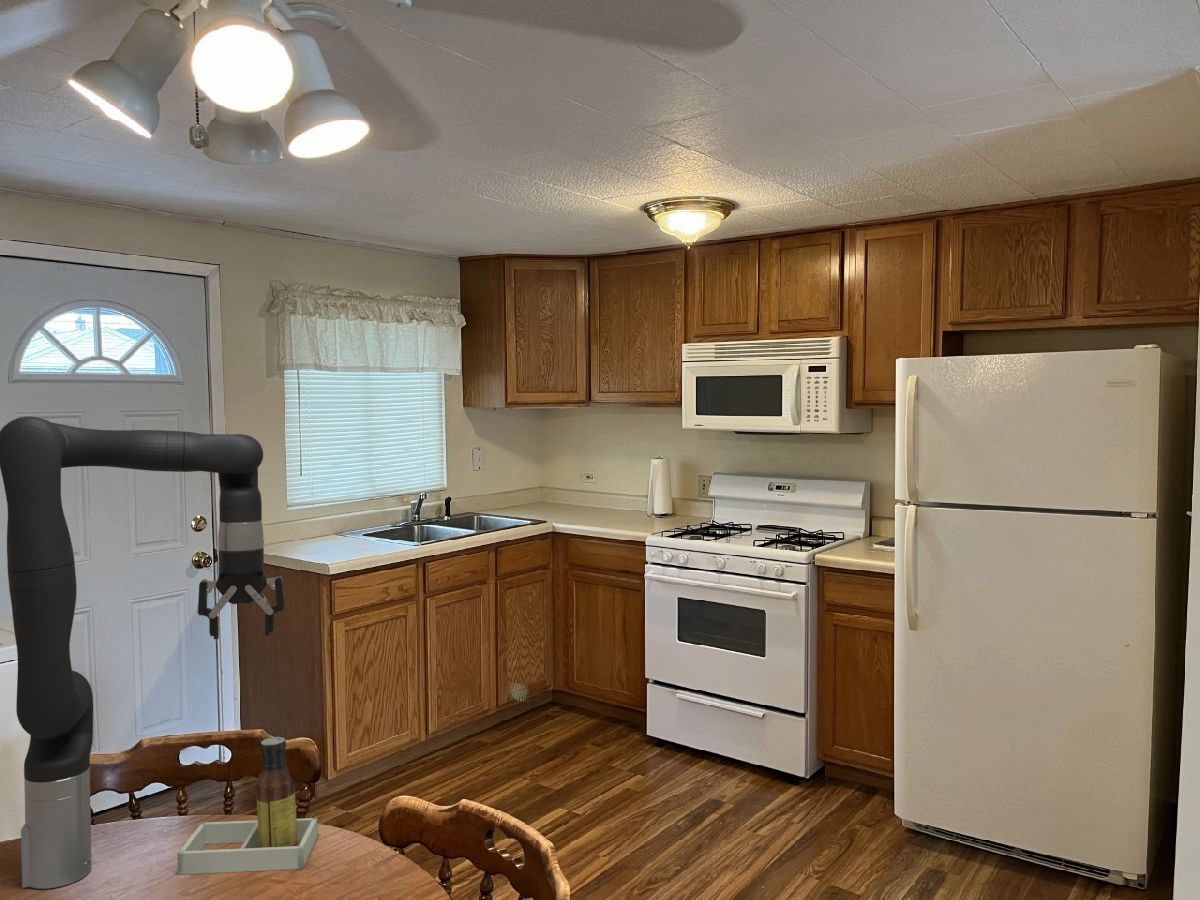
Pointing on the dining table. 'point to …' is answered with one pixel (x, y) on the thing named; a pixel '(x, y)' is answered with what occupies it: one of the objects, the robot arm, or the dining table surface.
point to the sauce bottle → (275, 797)
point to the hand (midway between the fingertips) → (242, 636)
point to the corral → (243, 849)
